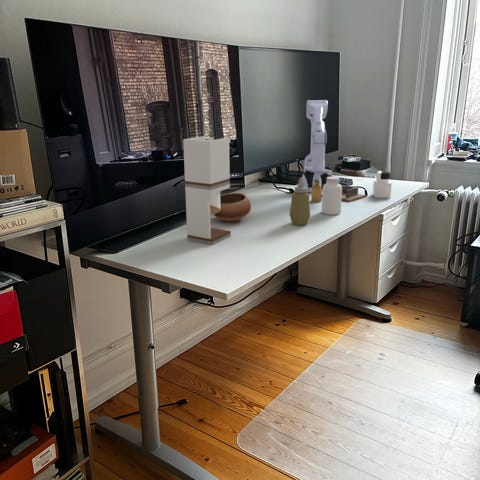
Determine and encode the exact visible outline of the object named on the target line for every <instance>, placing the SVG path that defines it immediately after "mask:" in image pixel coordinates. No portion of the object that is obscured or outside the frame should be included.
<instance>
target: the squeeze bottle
mask: <svg viewBox="0 0 480 480" xmlns="http://www.w3.org/2000/svg"><path fill="white" fill-rule="evenodd" d="M290 200H291V201H290V209H289V218H290V221H291V224H292V225H295V226H305V225H307V224H308V222H309V221H310V220H309V219H310V217H311V205H310V193H309V192H307V187H304V183H303V178H302V177H299V179H298V183H297V186H295V187H294V192H293V193H292V194H291V199H290Z"/></svg>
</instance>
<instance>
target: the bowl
mask: <svg viewBox="0 0 480 480" xmlns="http://www.w3.org/2000/svg"><path fill="white" fill-rule="evenodd" d="M220 209H221V210H220V211H219V212H217V213H215V214H213V215H212V216H214V217H215V218H216V219H218V220H220V221H223V222H225V221H226V222H236V221H239V220H241V219H244V217H246V216H248V214H249V213H250V212H251V209H252V205H251V201H250V199H249V197H248V196H247V195H246V194H245V193H243V192H229V193H224V194H223V193H222V194H220Z"/></svg>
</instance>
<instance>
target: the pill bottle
mask: <svg viewBox="0 0 480 480" xmlns="http://www.w3.org/2000/svg"><path fill="white" fill-rule="evenodd" d="M341 185H342V184H340V177H338V176H331V177H327V180H326V184H324V185H323V191H322V197H321V213H322V214H325V215H329V216H336V215H340V214H341V212H342V211H341V210H342V201H341V198H342V186H341Z"/></svg>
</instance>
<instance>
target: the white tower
mask: <svg viewBox="0 0 480 480" xmlns="http://www.w3.org/2000/svg"><path fill="white" fill-rule="evenodd" d="M206 138H207V136H205V135H202V136H196V137H190V138H184V139H182V141H183V143H182V144H183V145H182V146H183V162H184V164H183V165H184V189H185V209H186V210H185V213H186V214H185V215H186V233H187V234H186V235H187V241H189V242H195V243H199V244H204V245H205V244H206V245H209V246H213V245H215V244H218V243H219V242H222V241H225V240H226V239H228V238H231V230H226V229H221V228H215V227H212V226H211V216H214V215H213V214H215V213H217V212H219V211H220V210H221V209H220V195H221V192H222V191H225V190H228V189H230V188H231V183H230V182H231V181H230V180H231V178H230V177H231V175H230V168H231V167H230V161H231V160H230V137H223V138H218V139H217V138H216V139H206Z"/></svg>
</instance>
